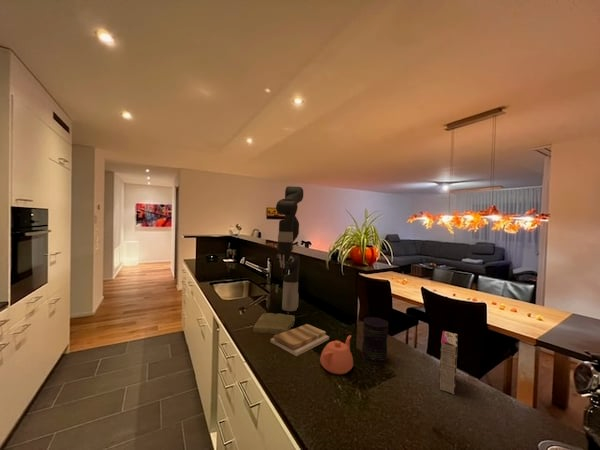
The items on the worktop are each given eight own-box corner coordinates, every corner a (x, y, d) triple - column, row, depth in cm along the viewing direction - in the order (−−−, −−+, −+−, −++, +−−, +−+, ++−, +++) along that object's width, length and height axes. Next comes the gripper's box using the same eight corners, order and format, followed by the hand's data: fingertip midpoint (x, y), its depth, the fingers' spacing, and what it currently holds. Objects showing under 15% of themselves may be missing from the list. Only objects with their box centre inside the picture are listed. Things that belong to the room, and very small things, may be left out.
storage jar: (369, 349, 112) (371, 315, 112) (391, 358, 105) (393, 322, 105) (356, 356, 105) (358, 320, 105) (378, 367, 98) (381, 328, 98)
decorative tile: (252, 333, 123) (252, 325, 123) (262, 317, 143) (263, 311, 143) (290, 336, 121) (291, 329, 121) (296, 320, 141) (296, 314, 141)
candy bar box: (439, 373, 96) (442, 330, 95) (455, 378, 93) (458, 333, 93) (437, 389, 86) (440, 341, 86) (455, 395, 83) (458, 345, 83)
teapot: (310, 368, 95) (311, 342, 95) (337, 351, 109) (338, 329, 108) (337, 383, 87) (338, 355, 87) (363, 363, 100) (364, 339, 100)
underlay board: (303, 328, 130) (303, 325, 130) (329, 339, 119) (329, 336, 119) (270, 342, 114) (270, 338, 114) (296, 356, 103) (296, 352, 103)
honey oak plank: (296, 330, 123) (297, 327, 123) (316, 339, 115) (316, 336, 115) (273, 338, 112) (273, 335, 112) (293, 349, 104) (293, 345, 104)
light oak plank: (306, 326, 128) (306, 323, 128) (325, 334, 120) (325, 331, 120) (297, 330, 124) (297, 327, 124) (316, 339, 115) (317, 335, 115)
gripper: (300, 241, 126) (298, 276, 126) (281, 239, 135) (280, 272, 135) (289, 242, 120) (287, 278, 120) (270, 239, 129) (269, 273, 129)
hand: (283, 275), depth 128 cm, fingers closed
